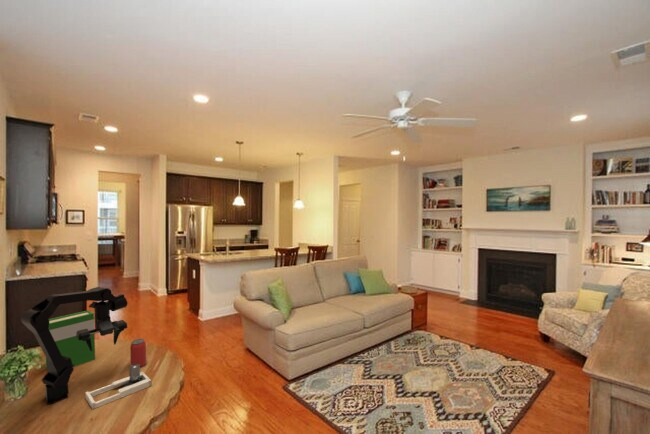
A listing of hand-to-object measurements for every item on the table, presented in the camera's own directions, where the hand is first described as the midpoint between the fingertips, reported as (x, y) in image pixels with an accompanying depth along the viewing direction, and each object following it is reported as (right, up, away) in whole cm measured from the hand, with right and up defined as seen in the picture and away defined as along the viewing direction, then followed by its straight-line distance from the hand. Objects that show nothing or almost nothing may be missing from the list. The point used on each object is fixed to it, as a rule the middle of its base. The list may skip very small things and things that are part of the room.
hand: (103, 347), depth 148 cm
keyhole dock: (+15, -14, -12) cm, 24 cm away
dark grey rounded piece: (+19, -14, -8) cm, 25 cm away
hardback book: (-23, -13, +10) cm, 28 cm away
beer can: (+11, -13, +10) cm, 19 cm away
